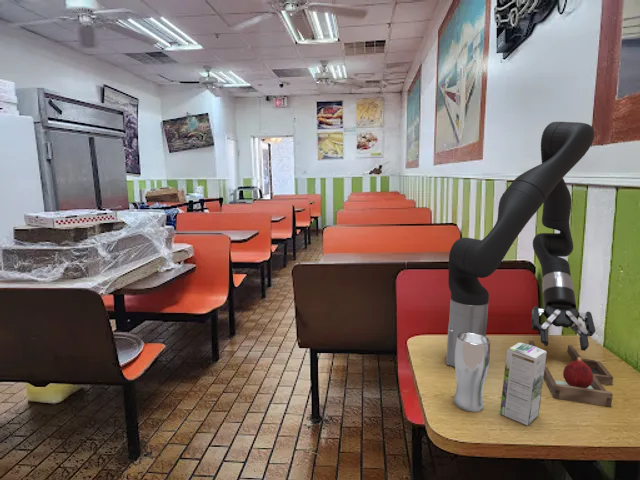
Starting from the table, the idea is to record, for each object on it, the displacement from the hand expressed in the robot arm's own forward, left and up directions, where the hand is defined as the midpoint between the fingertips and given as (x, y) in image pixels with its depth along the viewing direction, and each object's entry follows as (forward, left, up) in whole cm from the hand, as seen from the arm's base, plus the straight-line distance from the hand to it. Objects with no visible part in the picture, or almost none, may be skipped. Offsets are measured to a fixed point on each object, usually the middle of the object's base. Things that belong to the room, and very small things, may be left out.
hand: (565, 347), depth 104 cm
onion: (0, -11, -6) cm, 13 cm away
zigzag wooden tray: (0, -1, -6) cm, 6 cm away
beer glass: (-24, -25, -6) cm, 36 cm away
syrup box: (-14, -26, -6) cm, 31 cm away
